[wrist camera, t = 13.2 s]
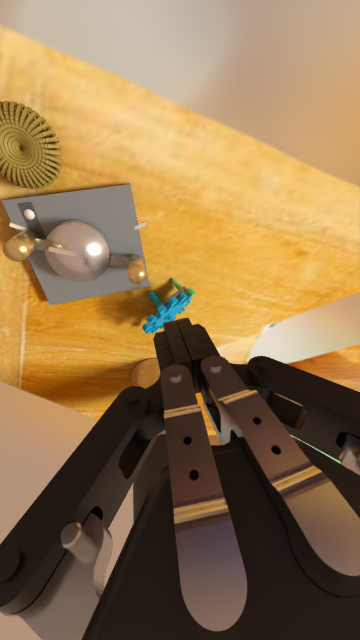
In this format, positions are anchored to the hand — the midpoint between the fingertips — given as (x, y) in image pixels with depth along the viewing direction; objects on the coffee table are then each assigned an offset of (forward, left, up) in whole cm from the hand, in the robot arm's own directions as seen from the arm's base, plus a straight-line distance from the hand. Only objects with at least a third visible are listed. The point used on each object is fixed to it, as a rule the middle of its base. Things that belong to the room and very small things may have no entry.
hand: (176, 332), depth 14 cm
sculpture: (+11, +11, -27) cm, 32 cm away
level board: (-1, +8, -27) cm, 28 cm away
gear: (-13, -2, -27) cm, 30 cm away
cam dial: (-1, +8, -26) cm, 27 cm away
